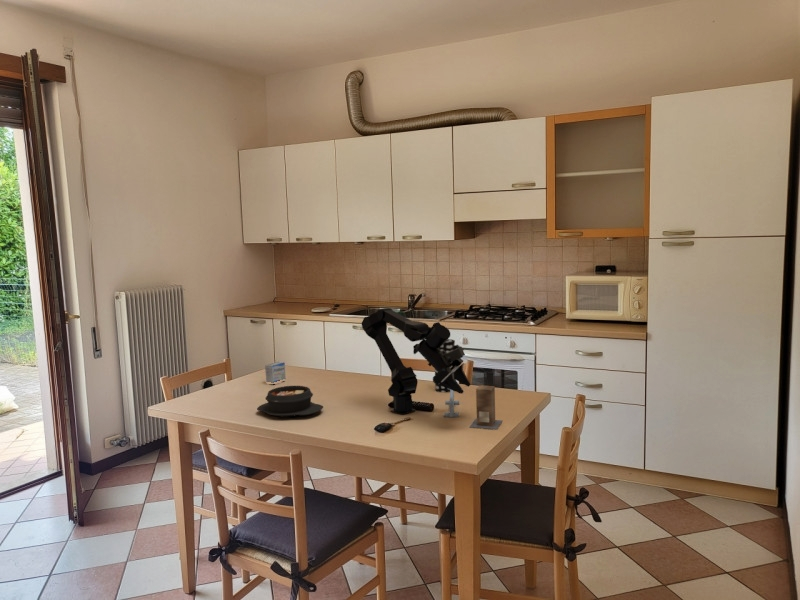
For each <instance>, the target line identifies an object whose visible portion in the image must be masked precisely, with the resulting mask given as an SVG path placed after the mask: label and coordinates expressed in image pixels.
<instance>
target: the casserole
mask: <svg viewBox="0 0 800 600" xmlns="http://www.w3.org/2000/svg"><path fill="white" fill-rule="evenodd" d="M313 395H314V393H313V392H312V391H311V388H310V387H308V386H305V385H287V386H279V387H276V388H275V387H274V388H272V389H270V390H269V391H268V392H267V395H266V397H265V401H266V402H265V403H263V404H261V405H259V406H258V407H257V408H256V410H257V411H259V412H263V413H265V414H268V415H271V416H276V417H279V416H294V415H299V416H308V415H312V414H316V413H318V412H320V411H322V410H323V409H324V406H323V405H322V404H318V403H315V402H312V397H313ZM294 417H295V416H294Z"/></svg>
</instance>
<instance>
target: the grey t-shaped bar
mask: <svg viewBox="0 0 800 600" xmlns="http://www.w3.org/2000/svg"><path fill="white" fill-rule="evenodd" d="M454 392H455V391H453V390H451V389H450V392H449V400H445V406H447V405H448V406H449V408H448V409H449V412H444V414H443V418H459V417H460V412H454V409H455V408H454V407H455V406H456V405H460V400H455V393H454ZM454 405H455V406H454Z"/></svg>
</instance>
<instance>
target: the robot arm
mask: <svg viewBox="0 0 800 600" xmlns="http://www.w3.org/2000/svg"><path fill="white" fill-rule="evenodd" d="M388 324H389V325H391V326H392V327H395V329H398V330H400V331H401V332H402V333H403V335H404V337H405V338H406V339H407V340H409V341H410V342H418V343H416V344H414V345H413V351H412V352H413V355H416V354H417V353H418V352H419V354H420V355H421V356H422V357H423V358H424V359H425V360H426V361H427V362H428V363H427V365H428V366H429V367H432V368H434V370H435V369H436V370H437V374H436V375H435V374H434V376H433V377H432V383H434V384H436V385H438V384H439V383H440V382H442V383H441V384H440V385H439V386H443V387H445V388H448V389H451V390H453V391H454V392H455V393H458V394H464V392H465V391H464V389H463V388H462V387H461V385H460V384H459V383H461V384H463V385H465V386H466V387H468V388H469V387H471V382H470V380H469V378H468V376H467V374H465V372H464V365H465V363H464V360H463V359H462V358H463V357H464V356H466V354H465V351H464V350H465V349H464V348H463V347H462V346H460V345H459V344H456V345H455V346H453V350H451V351H450V352H446V351H445V350H443V351H441V350H440V349H439V348H440V347H441V346H442V345H443V344H444V343H445V342H446V341H447V339H450V337H451V331H450V330H449V328H448V327H446V326H444V325H443V324H441V323H440V322H439V321H438V322H434V323H433V324H432V326H431V327H430V326H429V325H428V323H426V322H423V321H419V320H418V321H417V320H411V319H409V318H407V317H406V316H404V315H402V314H400V313H399V312H396V311H394V310H393V308H391V307H385V308H380V309H378V310H377V311H375V312H374V313H371V314H370V315H368V316H364V317H363V319H362V321H361V327H362V329H363V330H362V331H364V333H365V334H366V335H367V336H368V337H369V338H370V339H372V340H374V341H375V344H376V345H377V347H378V349H379V351H380V353H381V355H382V357H383V358H384V360H385V363H386V364H387V367H388V369H389V370H390V372H391V378H390V381H391V383H392V384H391V385H390V386H389V388H388V389H387V392H388V395H389V397H393V399H392V400H393V409H391V410H390V412H392V413H394V414H399V415H406V414H409V413H412V412H415V411H416V409H415V408H413V398H412V394H416V392H417V387H418V378H417V374H416V373H415V371H414V370H413V367H411V366H408V367H407V366H405V365H404V363H403V362H402V359H401V358H400V356H399V355H398V352H397V350H396V348H395V347H394V345H393V343H392V341H391V339H390V337H389V336H388V334H387V331H388V330H387V329H388ZM458 382H459V383H458Z"/></svg>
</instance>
